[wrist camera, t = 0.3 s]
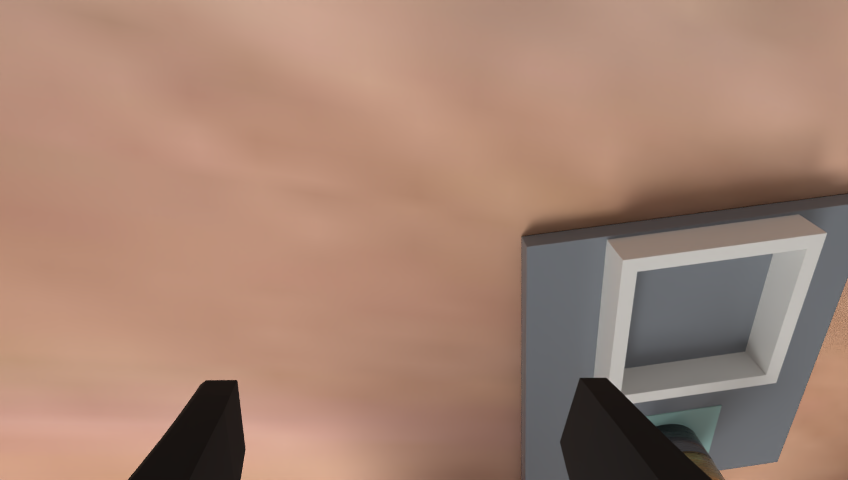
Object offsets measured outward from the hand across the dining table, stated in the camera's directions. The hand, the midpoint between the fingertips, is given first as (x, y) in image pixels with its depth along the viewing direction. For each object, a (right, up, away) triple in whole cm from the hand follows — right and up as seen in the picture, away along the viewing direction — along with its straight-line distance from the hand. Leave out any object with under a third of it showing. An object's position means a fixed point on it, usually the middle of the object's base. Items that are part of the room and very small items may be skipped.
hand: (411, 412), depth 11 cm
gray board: (+12, -2, +14) cm, 19 cm away
